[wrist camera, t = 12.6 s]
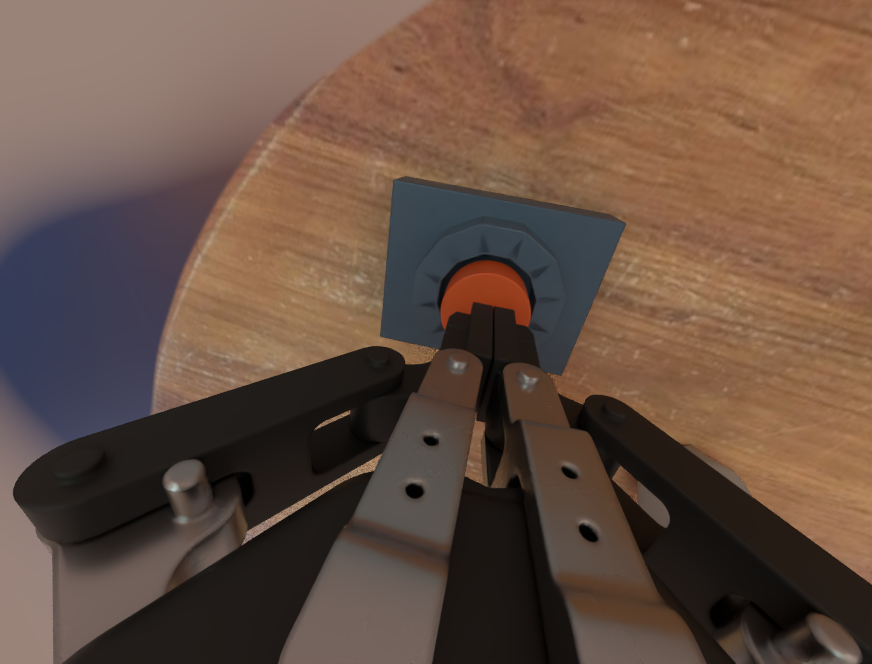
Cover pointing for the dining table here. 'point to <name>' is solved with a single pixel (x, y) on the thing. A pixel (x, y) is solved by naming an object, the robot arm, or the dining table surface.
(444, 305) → the button
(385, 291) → the control block
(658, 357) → the dining table surface
